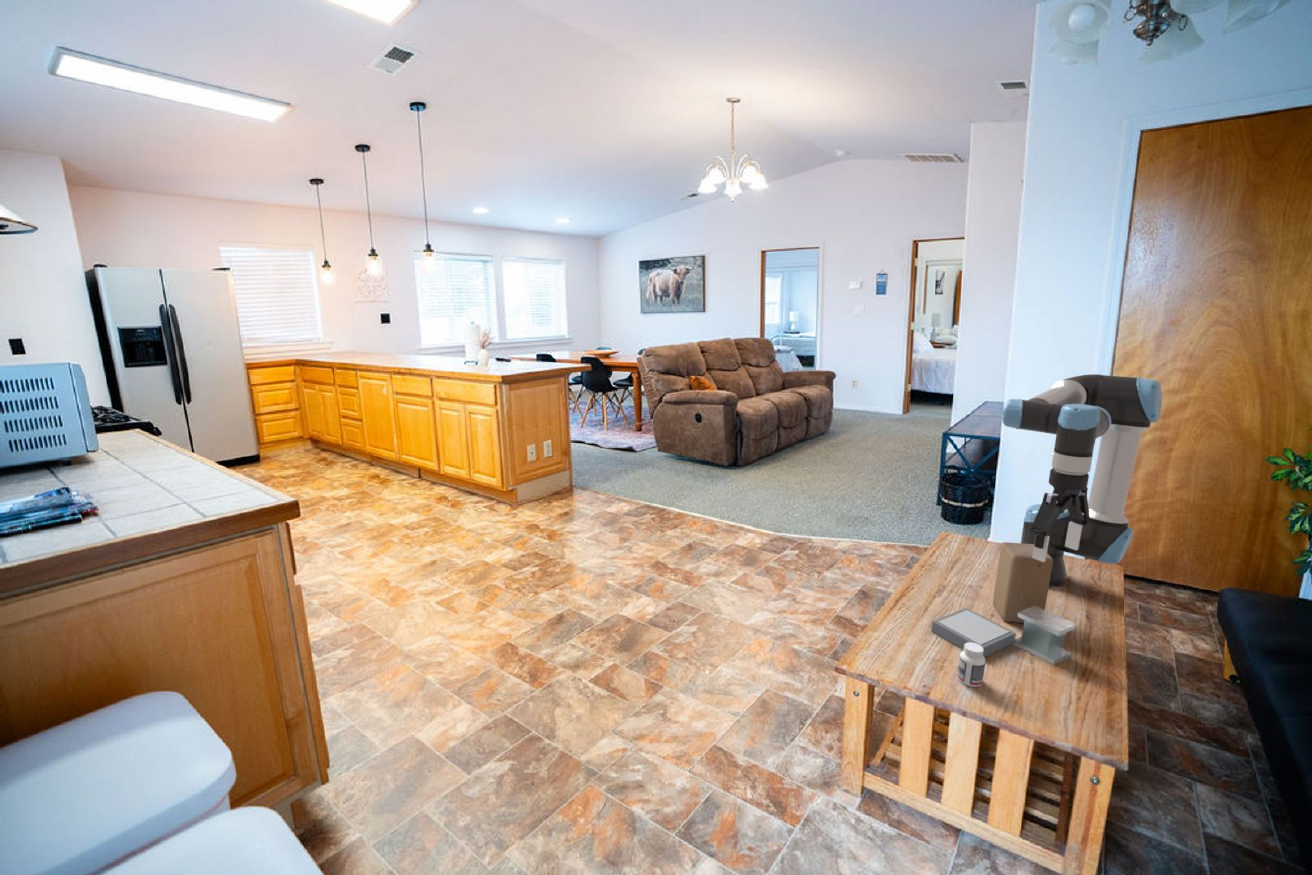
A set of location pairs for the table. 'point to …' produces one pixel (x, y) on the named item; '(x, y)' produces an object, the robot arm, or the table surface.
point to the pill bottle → (971, 665)
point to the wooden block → (1020, 581)
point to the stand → (973, 631)
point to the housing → (1044, 634)
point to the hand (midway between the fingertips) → (1055, 553)
